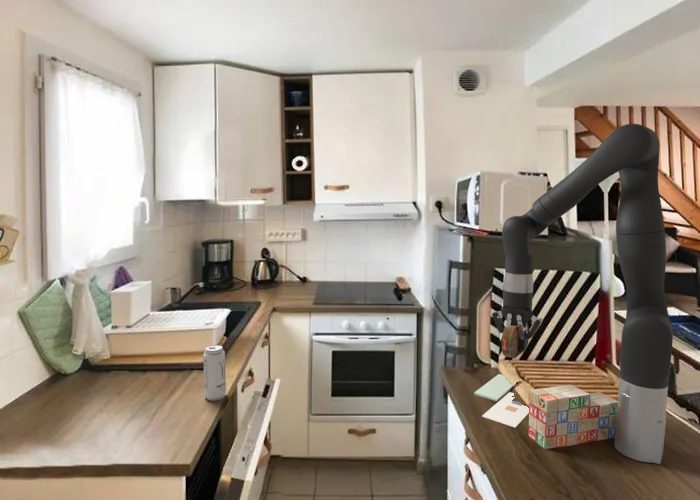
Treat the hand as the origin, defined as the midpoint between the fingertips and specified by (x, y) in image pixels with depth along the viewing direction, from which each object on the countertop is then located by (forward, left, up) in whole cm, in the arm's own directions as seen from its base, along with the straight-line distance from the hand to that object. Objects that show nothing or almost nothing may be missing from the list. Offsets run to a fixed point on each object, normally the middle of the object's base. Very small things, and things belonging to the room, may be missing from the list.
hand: (515, 350), depth 120 cm
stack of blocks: (-17, +5, -17) cm, 25 cm away
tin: (0, 0, -1) cm, 1 cm away
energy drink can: (+69, +51, -17) cm, 88 cm away
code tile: (0, 0, -17) cm, 17 cm away
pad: (+9, -11, -17) cm, 22 cm away
